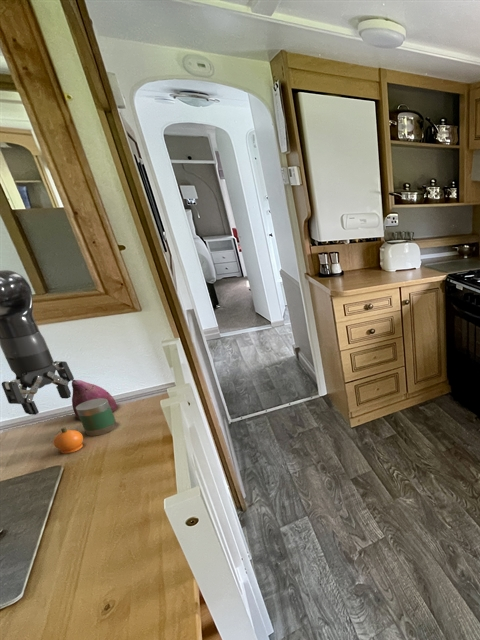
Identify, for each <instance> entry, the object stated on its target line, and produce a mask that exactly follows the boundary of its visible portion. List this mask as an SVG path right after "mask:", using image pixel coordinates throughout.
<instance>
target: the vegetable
mask: <svg viewBox="0 0 480 640" xmlns="http://www.w3.org/2000/svg"><path fill="white" fill-rule="evenodd" d="M71 387H72V396H71V404H72V410H73V413H74V415H75V417H76V419H77V420H79V421H80V418H79V416H78V413H77V410H76V406H78V405H79V404H81V403H83V402H86V401H89V400H93V399H99V398H104V399H107V401H108V403H109V405H110V407H111V410H112V412H113V413H114V412H115V411H116V410H118V404H117V401H116V399H115V398H114V397H113V396H112V394H110V393H109V391H107V390H106V389H104V388H103V387H101V386H99V385H97V384H93V383H90V382H86V381H83V380H80V379H73V380H72V381H71Z"/></svg>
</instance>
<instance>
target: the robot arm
mask: <svg viewBox="0 0 480 640" xmlns="http://www.w3.org/2000/svg"><path fill="white" fill-rule="evenodd" d="M31 287H32V286H31V285H30V283H29V281H28V280H27V279H26V278H25V277H24V276H23V275H21V274H20V273H18V272H16V271H13V270H8V269H2V270H0V349H1V351H2V354H3V355H4V358H5V360H6V362H7V364H8V366H9V369H10V371H11V372H13V374H14V375H15V379H12V380H9V381H5V380H4V381H2V382H1V387H2V390H3V392H4V395H5V397H6V399H7V402H8V404H10V405H13V404H14V405H21V407H22V409H23V412H24V413H25V414H27V415H31V416H33V415H34V416H35V415H38V414H39V412H40V411H39V409H38V406H37V405H36V403H35V402H36V401H34V400H33V399H34V397H35V394H37V393H38V390H39V389H42V388H43V387H45V386H48V385H50V384H53V385H55V388H56V390H57V393H58V395H59V397H60V398H61V399H70V398H72V396H71V394H72V392H71V390H70V387H69V383H70V382H72V380H75V377H74V375H73V373H72V371H71V369H70V366H69V365H68V362H67V361H63V360H62V361H61V360H56V361H54V359H53V357H52V354H51V352H50V349H49V346H48V345H47V341H46V339H45V337H44V336H43V335H42V332H41V331H40V328H39V326H38V324H37V322H36V319H35V317H34V301H33V292H32V288H31ZM56 372H57V374H56Z"/></svg>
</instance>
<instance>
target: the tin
mask: <svg viewBox="0 0 480 640" xmlns="http://www.w3.org/2000/svg"><path fill="white" fill-rule="evenodd" d="M76 410H77V413H78V416H79V418H80V420H79V421H80V423H81V425H82V427H83V430H84V431H85V433H86V435H87V436H89V437H95V436H101V435H105V434H107V433H109V432H111V431H114V430H115V429H116V428H117V426H118V424H117V421H116V418H115V415H114V412H112V410H111V407H110V405H109V403H108V401H107V399H104V398H99V399H93V400H89V401H86V402H83V403H81V404H79V405H78V406H76Z"/></svg>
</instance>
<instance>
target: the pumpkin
mask: <svg viewBox="0 0 480 640" xmlns="http://www.w3.org/2000/svg"><path fill="white" fill-rule="evenodd" d="M60 431H61V432H59V433H57V434H56V435H55V437H54V438H53V440H52V443H53V446H54V447H55V449H57V450H59V451H60V453H62V454H70V453H74V452H76V451H79V450H81V449H82V448H83V445H84V444H83V441H84V436H83V434H82V433H81V432H80V431H78V430H75V429H67V428H66V427H60Z"/></svg>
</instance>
